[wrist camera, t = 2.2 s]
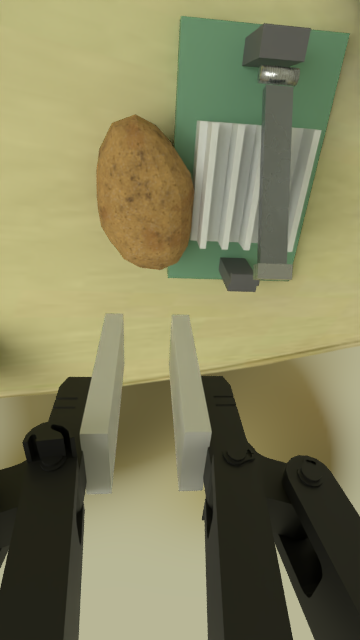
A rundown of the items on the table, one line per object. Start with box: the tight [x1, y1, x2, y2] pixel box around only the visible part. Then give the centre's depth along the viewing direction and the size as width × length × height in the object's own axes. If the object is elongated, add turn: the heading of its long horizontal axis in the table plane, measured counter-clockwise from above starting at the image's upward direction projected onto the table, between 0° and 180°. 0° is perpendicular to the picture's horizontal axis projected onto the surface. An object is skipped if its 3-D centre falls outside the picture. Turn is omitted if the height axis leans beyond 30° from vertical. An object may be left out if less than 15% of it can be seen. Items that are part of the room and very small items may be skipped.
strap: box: [253, 65, 300, 281], centre depth 27 cm, size 17×3×1 cm, turn 176°
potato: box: [97, 115, 194, 270], centre depth 34 cm, size 10×14×8 cm
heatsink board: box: [168, 16, 350, 292], centre depth 34 cm, size 24×15×8 cm, turn 176°
